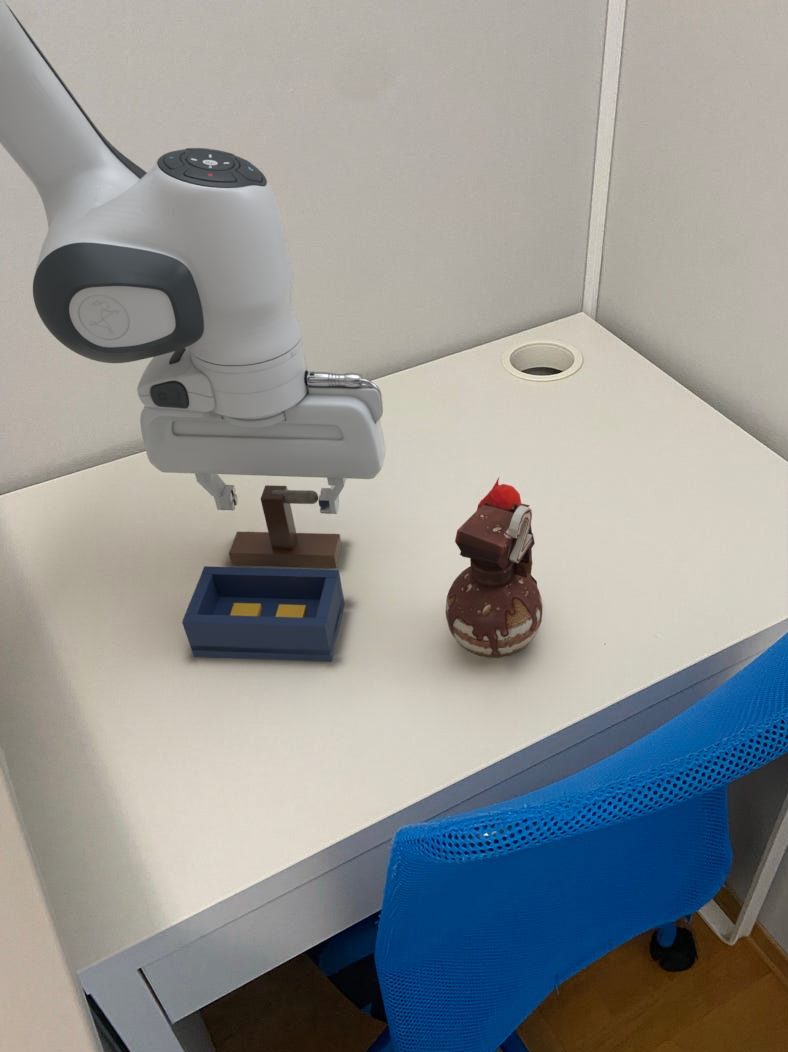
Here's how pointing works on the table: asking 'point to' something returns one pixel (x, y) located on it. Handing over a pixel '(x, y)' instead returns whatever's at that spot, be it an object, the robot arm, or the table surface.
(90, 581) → the table surface
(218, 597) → the token holder
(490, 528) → the grenade
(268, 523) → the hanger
